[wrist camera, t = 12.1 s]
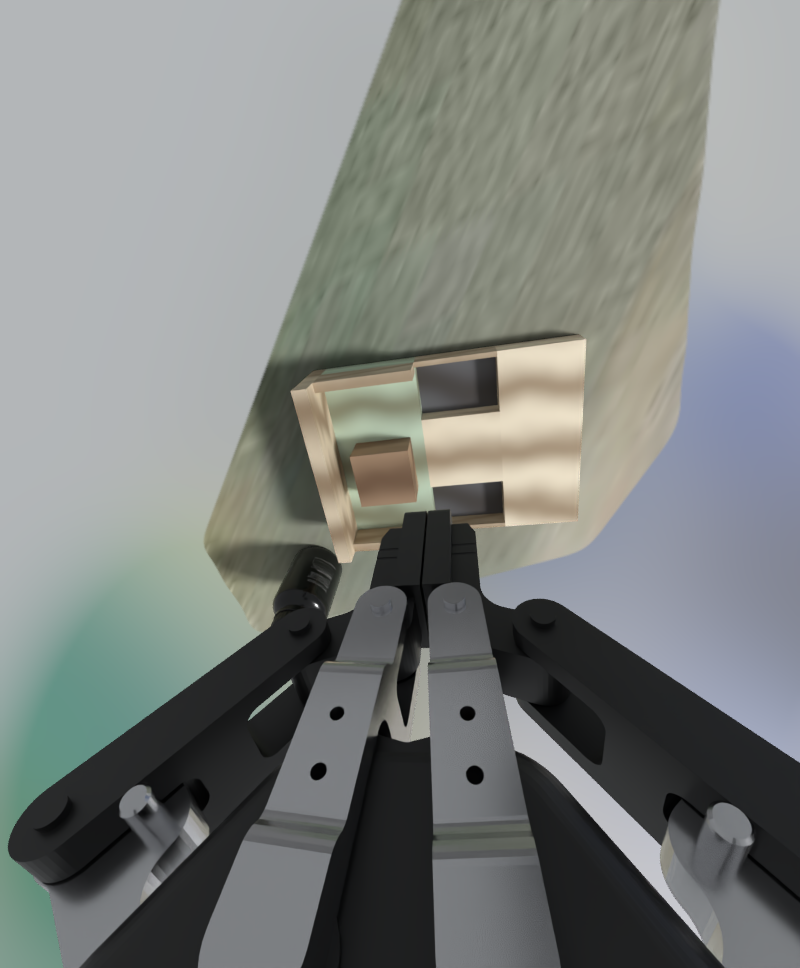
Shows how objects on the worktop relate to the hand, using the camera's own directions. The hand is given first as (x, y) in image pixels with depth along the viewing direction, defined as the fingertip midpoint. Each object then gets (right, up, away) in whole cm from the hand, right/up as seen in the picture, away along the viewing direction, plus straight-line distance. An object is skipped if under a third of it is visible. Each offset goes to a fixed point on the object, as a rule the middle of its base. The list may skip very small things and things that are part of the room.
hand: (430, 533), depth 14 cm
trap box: (+4, +6, +34) cm, 35 cm away
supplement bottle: (-12, -9, +45) cm, 47 cm away
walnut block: (-2, +4, +33) cm, 34 cm away
